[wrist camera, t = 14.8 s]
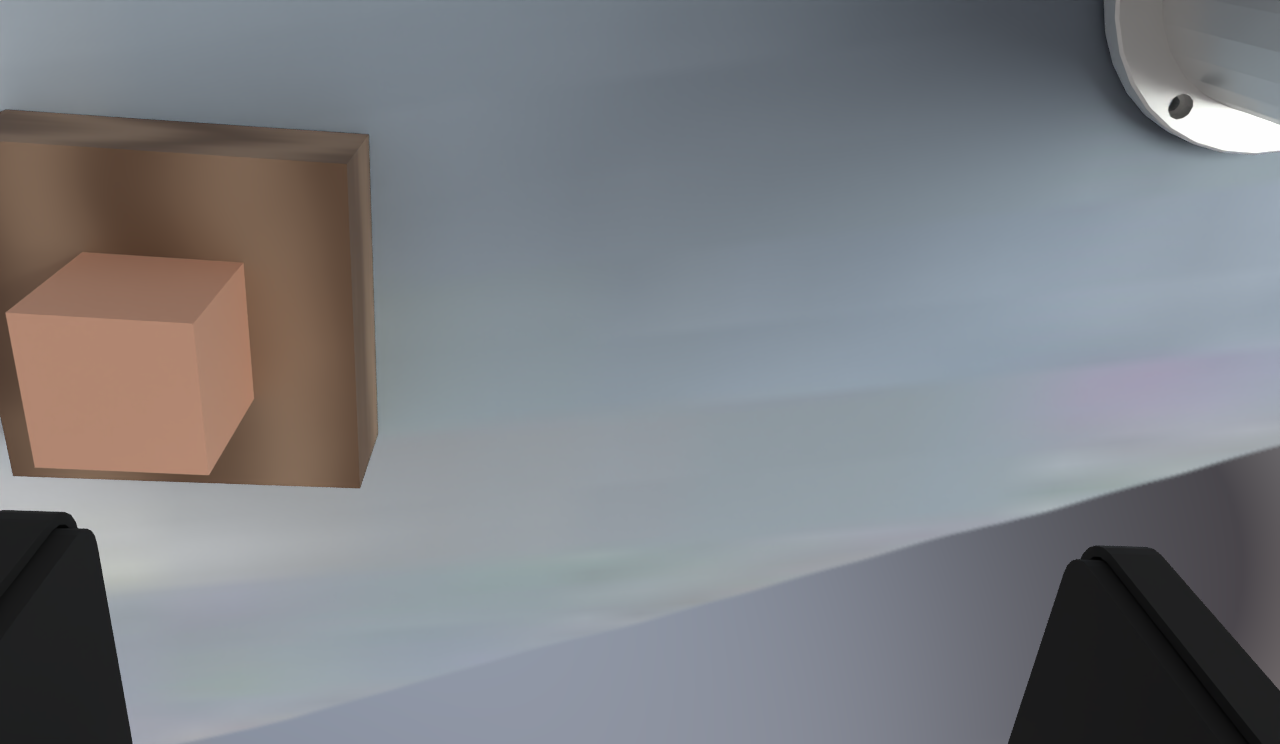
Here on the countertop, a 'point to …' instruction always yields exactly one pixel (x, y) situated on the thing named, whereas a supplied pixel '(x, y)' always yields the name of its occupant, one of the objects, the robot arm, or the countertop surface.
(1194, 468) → the countertop surface
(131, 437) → the terracotta cube
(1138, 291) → the countertop surface
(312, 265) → the walnut base
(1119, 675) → the robot arm
